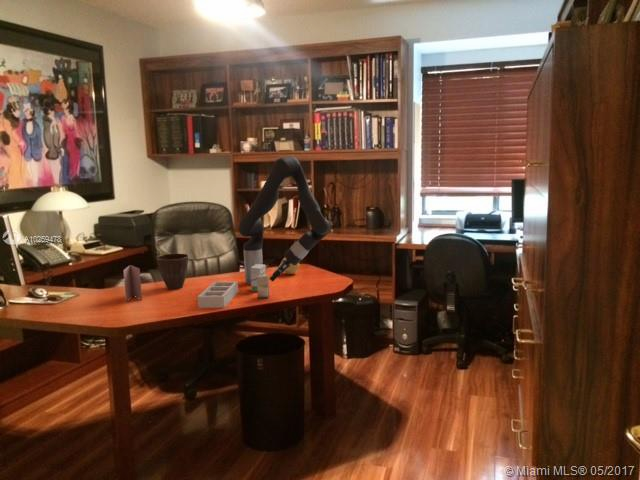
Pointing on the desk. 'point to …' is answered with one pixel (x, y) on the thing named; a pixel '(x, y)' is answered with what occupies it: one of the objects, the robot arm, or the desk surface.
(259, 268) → the ink box
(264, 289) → the tall wooden block
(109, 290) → the desk surface
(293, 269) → the stress ball
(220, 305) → the grey compartment tray
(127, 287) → the greeting card
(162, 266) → the plant pot
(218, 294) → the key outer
